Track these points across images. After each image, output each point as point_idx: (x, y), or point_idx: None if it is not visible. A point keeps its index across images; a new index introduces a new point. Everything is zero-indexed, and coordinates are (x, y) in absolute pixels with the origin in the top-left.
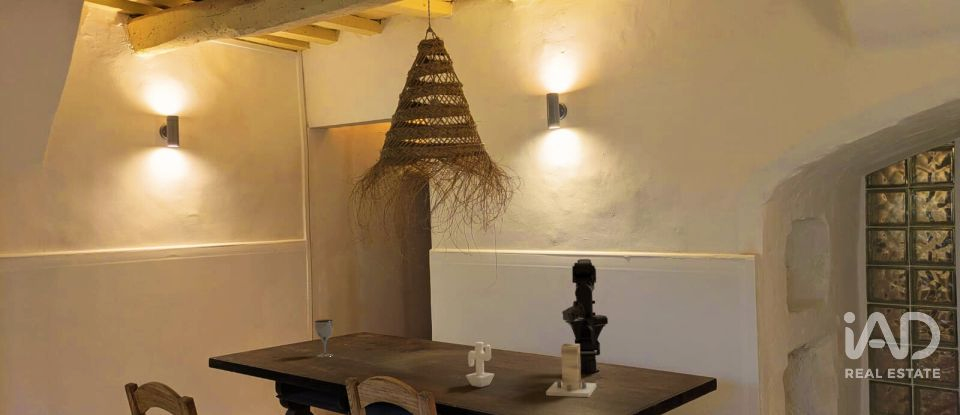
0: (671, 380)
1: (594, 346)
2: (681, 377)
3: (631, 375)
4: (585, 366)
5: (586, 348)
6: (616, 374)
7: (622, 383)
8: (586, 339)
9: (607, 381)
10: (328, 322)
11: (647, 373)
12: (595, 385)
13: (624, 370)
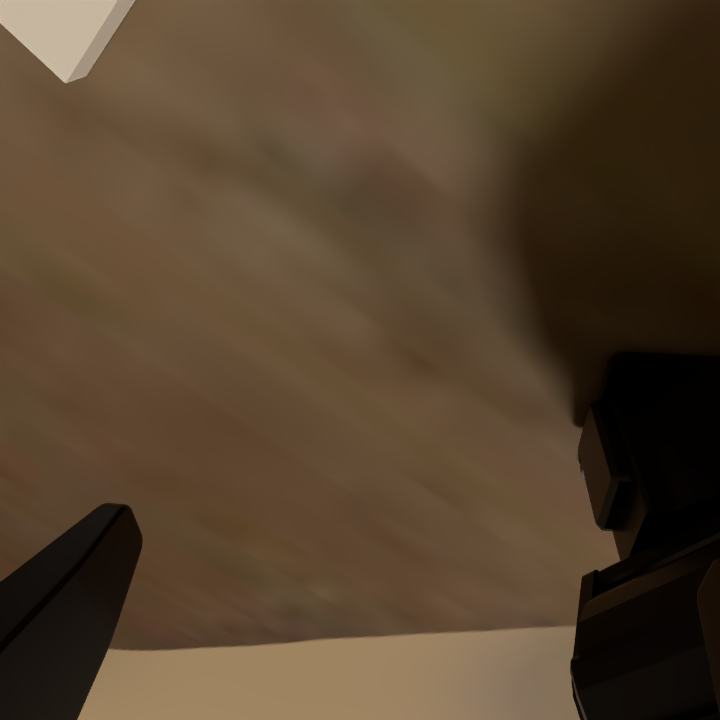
0: None
1: (579, 640)
2: (135, 611)
3: (321, 517)
4: (663, 414)
5: (675, 575)
6: (412, 484)
7: (130, 341)
8: (712, 717)
9: (249, 304)
10: None
11: (310, 589)
12: (28, 40)
13: (471, 573)
